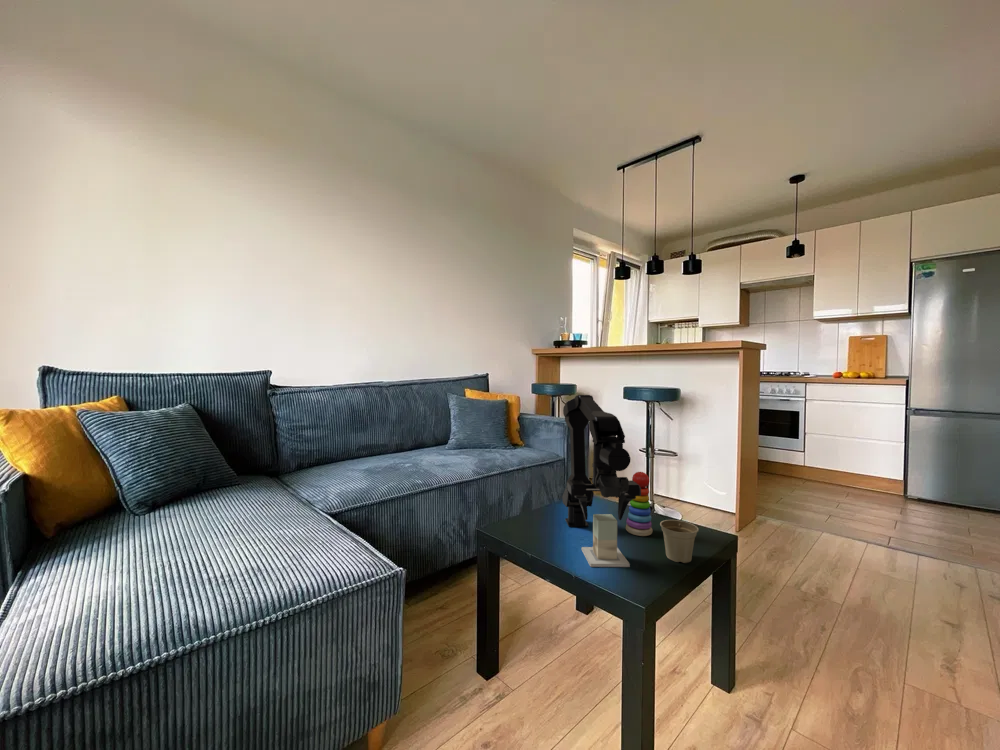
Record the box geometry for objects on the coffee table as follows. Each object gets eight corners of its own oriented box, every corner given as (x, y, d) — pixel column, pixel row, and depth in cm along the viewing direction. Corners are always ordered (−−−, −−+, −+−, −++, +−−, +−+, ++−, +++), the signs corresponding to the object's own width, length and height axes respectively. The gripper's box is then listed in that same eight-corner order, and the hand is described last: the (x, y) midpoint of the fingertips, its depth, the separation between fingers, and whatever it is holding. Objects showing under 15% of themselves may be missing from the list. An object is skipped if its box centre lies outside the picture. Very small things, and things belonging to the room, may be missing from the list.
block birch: (592, 550, 110) (593, 532, 110) (611, 550, 111) (611, 532, 111) (597, 559, 105) (598, 540, 105) (616, 559, 106) (617, 540, 106)
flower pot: (694, 570, 102) (695, 535, 102) (655, 559, 107) (656, 527, 107) (700, 556, 110) (701, 524, 110) (664, 547, 115) (664, 517, 115)
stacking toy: (647, 539, 121) (648, 476, 121) (621, 532, 126) (622, 472, 126) (655, 531, 127) (656, 471, 127) (630, 525, 132) (631, 468, 132)
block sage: (592, 532, 110) (593, 514, 110) (611, 532, 111) (611, 514, 111) (598, 540, 105) (598, 520, 105) (617, 539, 106) (617, 520, 106)
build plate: (581, 549, 113) (581, 546, 113) (617, 549, 113) (617, 547, 113) (590, 566, 103) (590, 563, 103) (629, 566, 103) (629, 563, 103)
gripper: (576, 468, 101) (575, 531, 102) (649, 469, 102) (648, 531, 102) (567, 459, 113) (566, 515, 113) (634, 459, 113) (633, 515, 113)
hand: (603, 519), depth 110 cm, fingers open, 9 cm apart
